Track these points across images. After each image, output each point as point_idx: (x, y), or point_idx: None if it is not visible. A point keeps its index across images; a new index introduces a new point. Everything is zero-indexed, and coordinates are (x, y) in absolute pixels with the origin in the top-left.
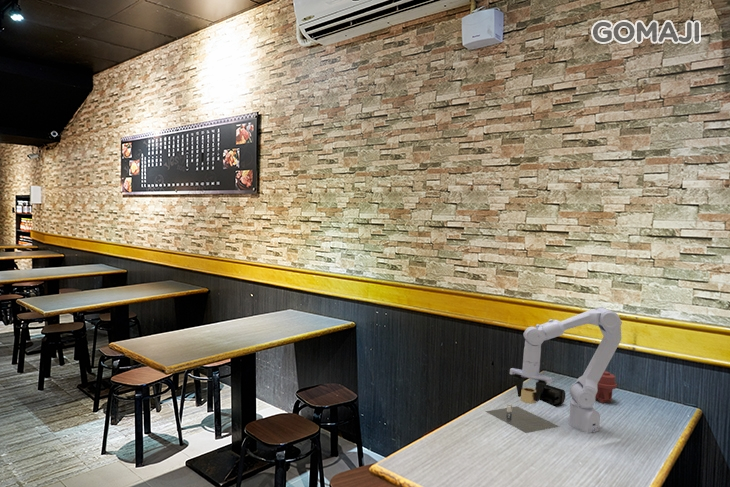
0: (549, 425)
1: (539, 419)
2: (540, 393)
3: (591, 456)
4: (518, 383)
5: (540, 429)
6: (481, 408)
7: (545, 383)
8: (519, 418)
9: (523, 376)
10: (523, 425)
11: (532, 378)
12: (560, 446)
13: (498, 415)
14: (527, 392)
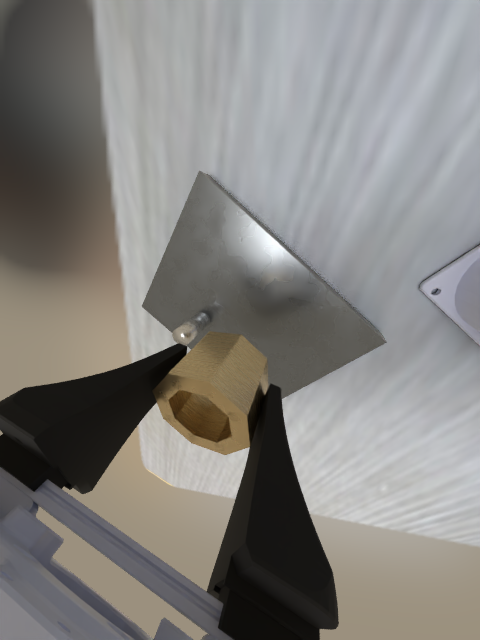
0: (339, 345)
1: (303, 298)
2: (278, 430)
3: (438, 472)
4: (116, 443)
5: (300, 384)
6: (121, 247)
7: (303, 624)
8: (232, 320)
9: (68, 505)
10: None
11: (147, 567)
12: (352, 431)
13: (177, 322)
14: (201, 442)
